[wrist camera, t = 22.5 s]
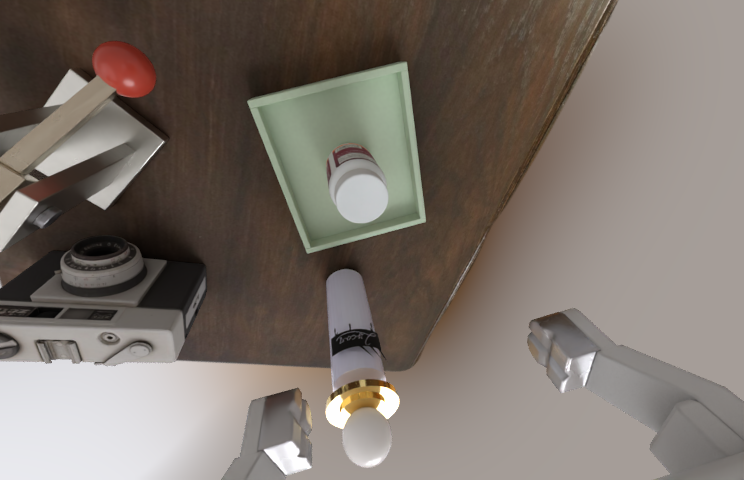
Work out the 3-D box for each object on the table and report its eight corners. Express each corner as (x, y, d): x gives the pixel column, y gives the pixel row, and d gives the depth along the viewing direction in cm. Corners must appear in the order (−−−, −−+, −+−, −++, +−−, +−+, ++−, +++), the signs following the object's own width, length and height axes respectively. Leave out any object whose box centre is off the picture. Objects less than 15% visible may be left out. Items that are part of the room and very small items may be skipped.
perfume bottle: (366, 295, 39) (409, 475, 22) (322, 300, 38) (330, 491, 21) (367, 259, 36) (416, 435, 19) (319, 263, 35) (325, 451, 18)
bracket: (80, 67, 22) (-105, 73, 12) (170, 138, 26) (82, 186, 16) (22, 150, 24) (-177, 212, 15) (112, 205, 28) (2, 286, 18)
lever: (122, 43, 20) (114, 18, 18) (168, 83, 22) (167, 66, 19) (-53, 187, 17) (-95, 183, 14) (17, 222, 18) (-10, 224, 16)
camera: (206, 234, 31) (167, 299, 22) (208, 294, 35) (174, 370, 26) (36, 214, 27) (-87, 284, 19) (59, 285, 31) (-35, 369, 23)
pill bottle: (357, 197, 31) (370, 238, 24) (316, 174, 29) (318, 210, 22) (383, 158, 29) (406, 190, 22) (342, 131, 27) (353, 155, 20)
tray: (251, 98, 25) (246, 100, 24) (400, 61, 26) (406, 61, 24) (307, 243, 34) (307, 254, 32) (420, 213, 34) (426, 221, 32)
